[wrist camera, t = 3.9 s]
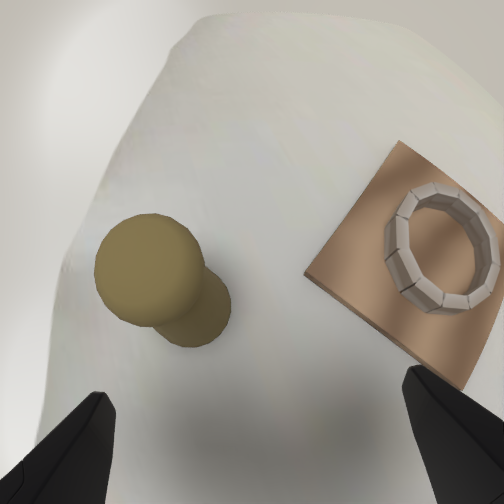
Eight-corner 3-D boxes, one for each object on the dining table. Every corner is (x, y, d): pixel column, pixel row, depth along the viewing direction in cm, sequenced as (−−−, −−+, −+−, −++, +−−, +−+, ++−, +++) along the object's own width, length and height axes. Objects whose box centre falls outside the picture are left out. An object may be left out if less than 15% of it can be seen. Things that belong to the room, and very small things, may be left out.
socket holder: (514, 243, 24) (535, 230, 20) (455, 390, 20) (480, 391, 16) (395, 146, 27) (407, 123, 24) (303, 274, 23) (310, 259, 20)
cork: (159, 262, 24) (96, 189, 14) (236, 271, 24) (219, 197, 13) (144, 339, 22) (61, 316, 12) (225, 353, 22) (193, 345, 11)
